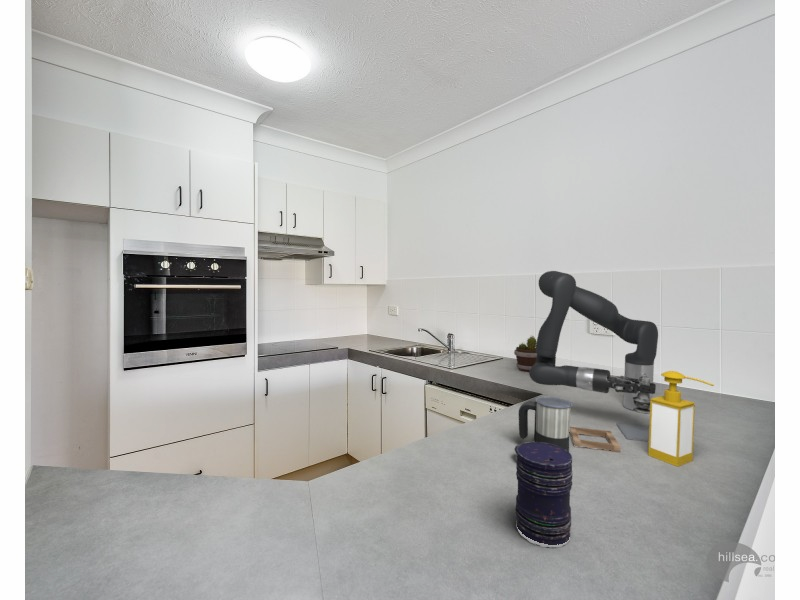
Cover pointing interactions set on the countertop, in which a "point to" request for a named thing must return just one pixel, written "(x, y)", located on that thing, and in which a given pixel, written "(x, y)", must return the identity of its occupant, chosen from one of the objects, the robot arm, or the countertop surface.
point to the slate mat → (634, 431)
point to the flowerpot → (526, 354)
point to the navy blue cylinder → (544, 492)
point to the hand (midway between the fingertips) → (655, 388)
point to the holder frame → (611, 439)
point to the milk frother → (547, 421)
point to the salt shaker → (642, 397)
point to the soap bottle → (672, 423)
